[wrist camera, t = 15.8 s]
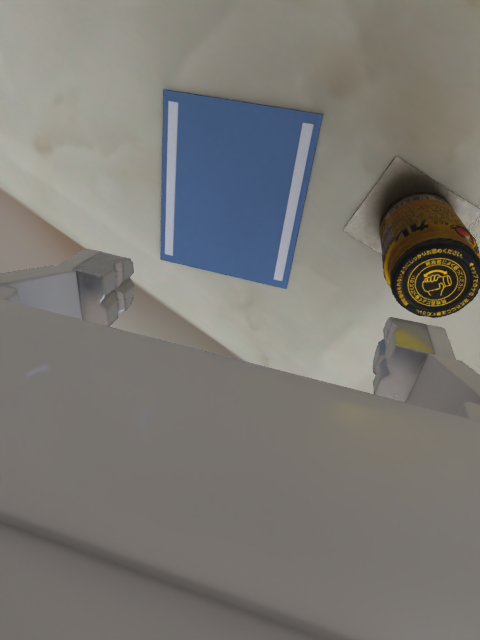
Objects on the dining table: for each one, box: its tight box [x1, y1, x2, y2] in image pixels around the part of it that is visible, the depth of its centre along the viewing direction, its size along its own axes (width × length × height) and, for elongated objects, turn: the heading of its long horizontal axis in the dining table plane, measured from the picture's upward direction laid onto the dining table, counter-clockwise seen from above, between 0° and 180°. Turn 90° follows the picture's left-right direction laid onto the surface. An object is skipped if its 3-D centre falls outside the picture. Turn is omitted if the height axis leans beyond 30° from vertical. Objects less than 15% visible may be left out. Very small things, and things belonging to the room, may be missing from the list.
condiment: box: [343, 156, 480, 318], centre depth 29 cm, size 7×8×12 cm
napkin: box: [160, 90, 323, 289], centre depth 37 cm, size 16×14×1 cm
